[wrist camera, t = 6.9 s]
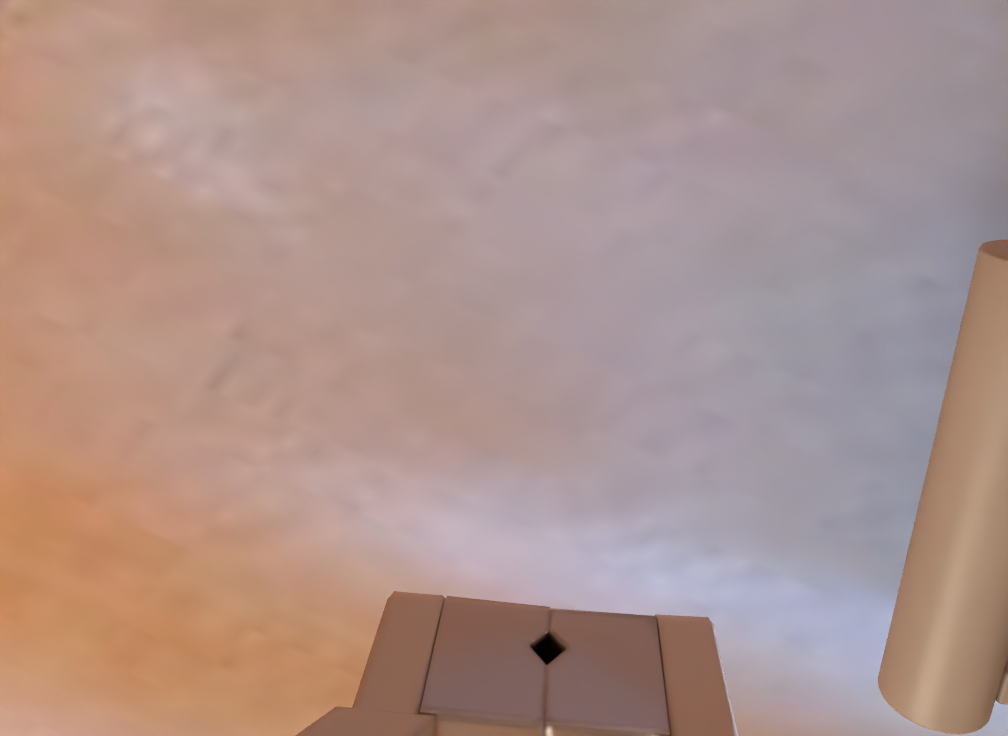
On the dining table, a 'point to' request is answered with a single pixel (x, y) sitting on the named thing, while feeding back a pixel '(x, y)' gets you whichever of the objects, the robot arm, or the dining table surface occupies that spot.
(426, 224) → the dining table surface
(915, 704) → the drawer
